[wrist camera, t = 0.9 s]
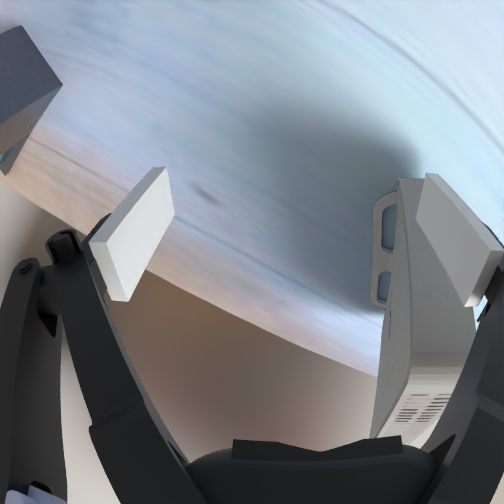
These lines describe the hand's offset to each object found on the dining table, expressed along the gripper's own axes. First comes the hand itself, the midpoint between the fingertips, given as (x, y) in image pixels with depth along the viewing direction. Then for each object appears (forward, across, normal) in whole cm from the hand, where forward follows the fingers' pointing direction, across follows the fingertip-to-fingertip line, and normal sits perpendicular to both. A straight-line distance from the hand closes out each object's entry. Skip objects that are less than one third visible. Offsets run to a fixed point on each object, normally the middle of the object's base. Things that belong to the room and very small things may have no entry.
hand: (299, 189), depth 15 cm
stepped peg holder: (+22, -41, +6) cm, 47 cm away
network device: (+14, +14, -14) cm, 25 cm away
